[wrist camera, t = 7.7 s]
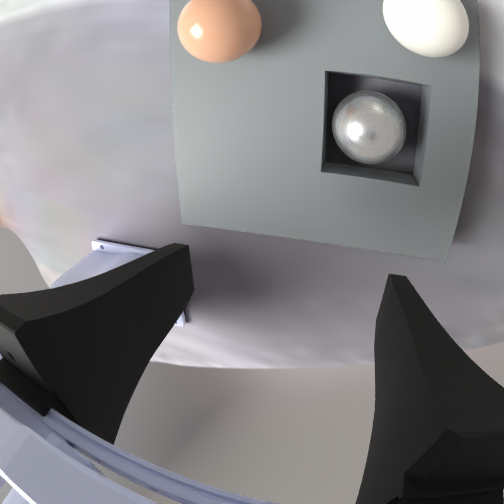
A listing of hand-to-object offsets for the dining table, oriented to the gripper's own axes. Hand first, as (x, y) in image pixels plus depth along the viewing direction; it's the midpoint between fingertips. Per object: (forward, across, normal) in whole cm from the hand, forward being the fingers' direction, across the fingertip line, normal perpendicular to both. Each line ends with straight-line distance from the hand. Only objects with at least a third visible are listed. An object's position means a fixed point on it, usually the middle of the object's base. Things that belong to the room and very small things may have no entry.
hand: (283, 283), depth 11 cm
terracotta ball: (+6, +4, -10) cm, 12 cm away
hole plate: (+10, 0, -6) cm, 12 cm away
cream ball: (+6, -5, -11) cm, 13 cm away
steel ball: (+8, -3, -5) cm, 10 cm away
